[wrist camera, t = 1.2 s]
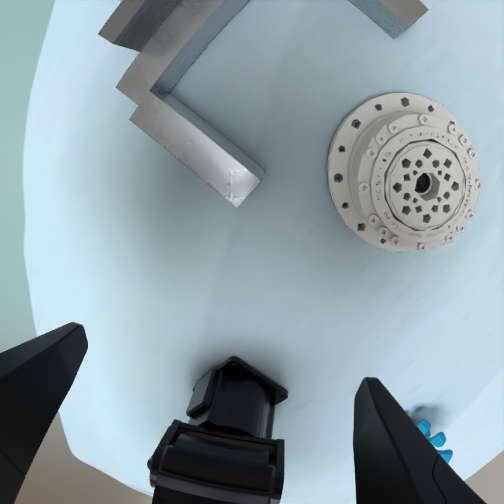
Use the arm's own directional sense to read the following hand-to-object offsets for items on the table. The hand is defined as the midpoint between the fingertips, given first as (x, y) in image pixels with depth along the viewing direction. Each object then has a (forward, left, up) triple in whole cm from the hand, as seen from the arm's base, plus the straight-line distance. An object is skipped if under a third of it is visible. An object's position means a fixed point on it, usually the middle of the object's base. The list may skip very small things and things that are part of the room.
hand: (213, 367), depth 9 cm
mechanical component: (-4, -9, -13) cm, 17 cm away
